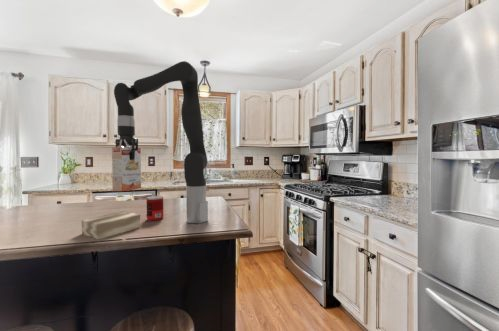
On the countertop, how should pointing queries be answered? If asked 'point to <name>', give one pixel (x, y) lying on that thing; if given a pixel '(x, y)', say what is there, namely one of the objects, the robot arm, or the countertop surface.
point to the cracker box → (125, 169)
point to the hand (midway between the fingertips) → (127, 159)
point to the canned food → (154, 208)
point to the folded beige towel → (110, 224)
